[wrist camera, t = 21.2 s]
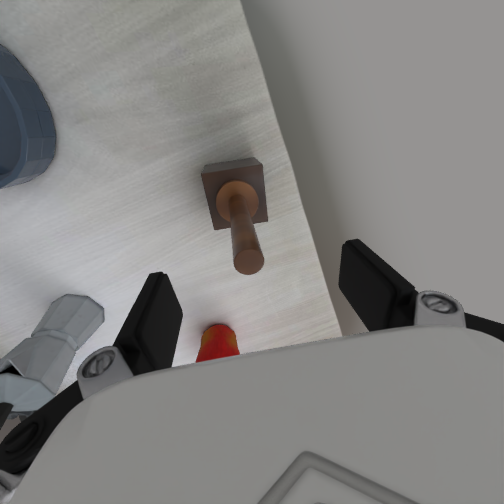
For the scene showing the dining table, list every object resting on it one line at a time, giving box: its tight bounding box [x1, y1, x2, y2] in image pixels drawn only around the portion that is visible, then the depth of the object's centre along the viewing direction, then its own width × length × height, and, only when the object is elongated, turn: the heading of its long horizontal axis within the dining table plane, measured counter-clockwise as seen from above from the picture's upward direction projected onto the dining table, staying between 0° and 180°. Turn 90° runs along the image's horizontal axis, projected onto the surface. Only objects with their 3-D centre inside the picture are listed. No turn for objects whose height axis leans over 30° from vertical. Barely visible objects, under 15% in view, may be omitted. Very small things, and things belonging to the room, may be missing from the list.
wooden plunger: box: [216, 180, 264, 275], centre depth 20 cm, size 5×5×14 cm
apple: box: [196, 325, 240, 363], centre depth 42 cm, size 9×8×12 cm
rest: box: [201, 157, 268, 230], centre depth 29 cm, size 7×7×7 cm
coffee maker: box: [0, 294, 104, 430], centre depth 33 cm, size 15×9×18 cm, turn 164°
